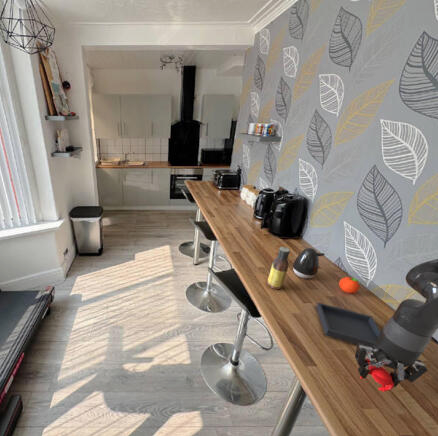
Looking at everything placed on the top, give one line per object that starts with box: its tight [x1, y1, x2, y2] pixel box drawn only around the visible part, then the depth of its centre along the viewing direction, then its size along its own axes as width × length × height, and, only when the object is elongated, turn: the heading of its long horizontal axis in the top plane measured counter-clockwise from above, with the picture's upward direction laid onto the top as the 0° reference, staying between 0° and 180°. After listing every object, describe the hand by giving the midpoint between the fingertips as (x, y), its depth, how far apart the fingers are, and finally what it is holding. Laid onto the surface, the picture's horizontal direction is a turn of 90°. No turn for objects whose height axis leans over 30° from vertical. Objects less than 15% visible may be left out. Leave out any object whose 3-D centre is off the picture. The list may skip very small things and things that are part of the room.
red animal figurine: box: [359, 362, 395, 393], centre depth 66 cm, size 8×6×6 cm
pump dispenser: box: [292, 247, 326, 280], centre depth 113 cm, size 10×10×15 cm
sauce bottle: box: [266, 246, 291, 290], centre depth 104 cm, size 7×6×20 cm
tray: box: [315, 302, 382, 347], centre depth 87 cm, size 18×15×3 cm
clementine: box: [338, 276, 362, 294], centre depth 105 cm, size 8×7×7 cm
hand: (375, 379), depth 66 cm, fingers closed on red animal figurine, 5 cm apart
